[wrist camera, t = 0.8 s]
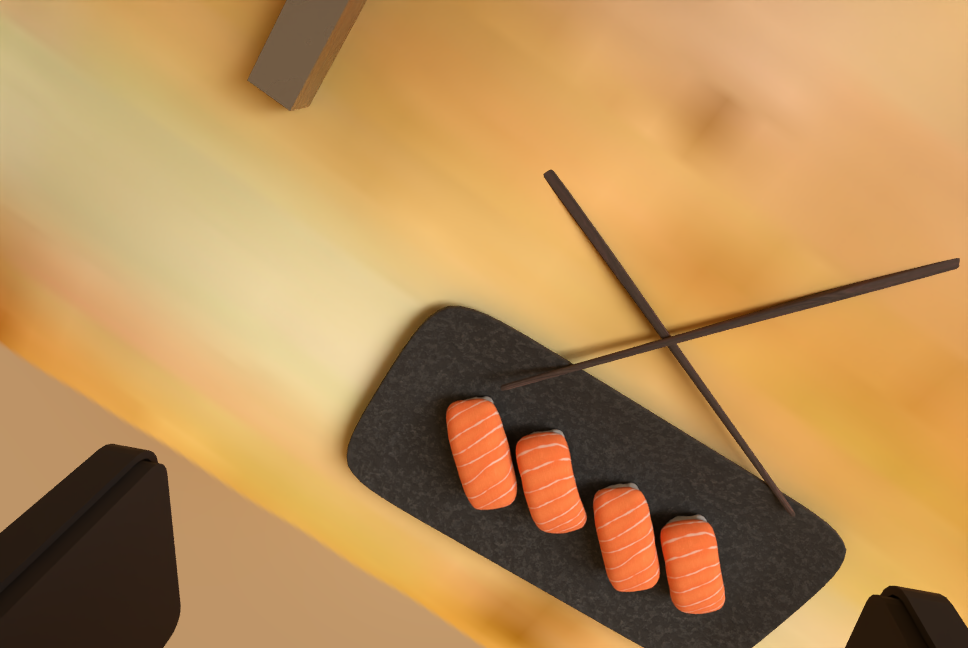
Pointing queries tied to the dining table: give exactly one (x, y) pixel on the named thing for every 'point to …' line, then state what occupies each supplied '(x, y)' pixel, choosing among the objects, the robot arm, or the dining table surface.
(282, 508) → the dining table surface
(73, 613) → the robot arm
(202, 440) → the dining table surface
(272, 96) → the rail
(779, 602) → the sushi plate
